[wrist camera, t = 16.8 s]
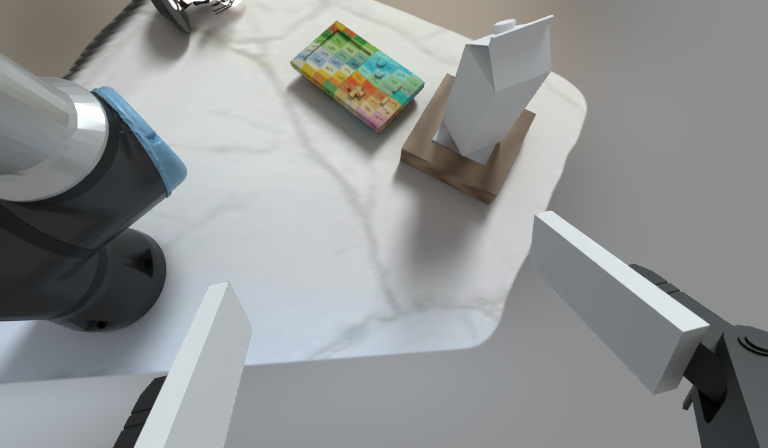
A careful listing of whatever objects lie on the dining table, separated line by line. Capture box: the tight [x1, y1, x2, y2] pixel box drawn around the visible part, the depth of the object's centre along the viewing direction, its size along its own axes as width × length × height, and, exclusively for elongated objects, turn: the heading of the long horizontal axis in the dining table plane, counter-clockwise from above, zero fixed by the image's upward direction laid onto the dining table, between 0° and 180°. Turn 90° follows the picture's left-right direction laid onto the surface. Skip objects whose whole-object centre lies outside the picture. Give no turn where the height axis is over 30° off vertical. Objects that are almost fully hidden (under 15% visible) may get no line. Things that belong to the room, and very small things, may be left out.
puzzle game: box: [290, 21, 424, 133], centre depth 56 cm, size 12×5×20 cm
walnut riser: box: [400, 74, 536, 204], centre depth 52 cm, size 16×16×4 cm
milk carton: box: [442, 15, 554, 156], centre depth 41 cm, size 7×7×19 cm
